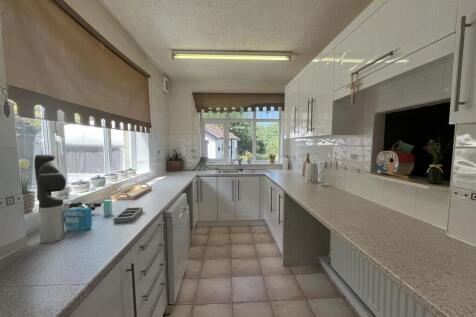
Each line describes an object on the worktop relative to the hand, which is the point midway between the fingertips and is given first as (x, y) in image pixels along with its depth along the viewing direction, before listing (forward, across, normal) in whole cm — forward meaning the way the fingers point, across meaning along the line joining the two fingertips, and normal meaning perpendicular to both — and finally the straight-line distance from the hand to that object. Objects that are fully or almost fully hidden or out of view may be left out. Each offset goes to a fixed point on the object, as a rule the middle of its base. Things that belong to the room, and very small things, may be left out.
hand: (98, 206), depth 149 cm
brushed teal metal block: (+6, 0, +6) cm, 9 cm away
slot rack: (+22, -7, +6) cm, 24 cm away
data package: (+1, -25, +6) cm, 26 cm away
